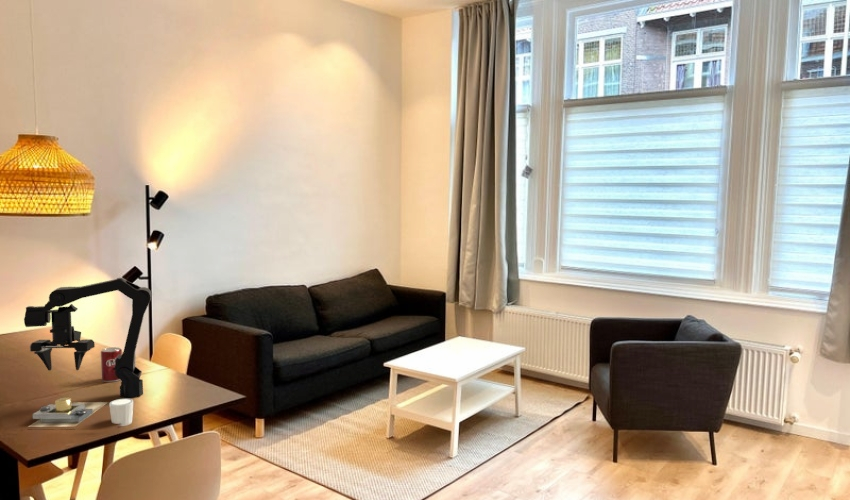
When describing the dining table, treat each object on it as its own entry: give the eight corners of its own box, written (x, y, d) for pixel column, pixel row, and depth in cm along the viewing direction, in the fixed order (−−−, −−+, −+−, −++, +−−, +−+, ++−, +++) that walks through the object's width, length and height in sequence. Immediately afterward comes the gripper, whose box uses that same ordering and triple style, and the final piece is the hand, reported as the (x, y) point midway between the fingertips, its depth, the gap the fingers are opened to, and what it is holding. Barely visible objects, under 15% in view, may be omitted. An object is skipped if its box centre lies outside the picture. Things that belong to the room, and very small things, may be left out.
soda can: (97, 380, 236) (96, 350, 235) (114, 375, 243) (113, 346, 242) (109, 383, 233) (108, 352, 232) (126, 378, 239) (125, 348, 238)
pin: (74, 415, 197) (73, 397, 196) (67, 420, 192) (66, 402, 192) (60, 415, 196) (59, 397, 196) (53, 420, 192) (52, 402, 191)
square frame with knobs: (93, 413, 199) (92, 402, 199) (78, 423, 190) (78, 412, 190) (49, 413, 198) (48, 402, 198) (32, 423, 190) (32, 412, 189)
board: (108, 405, 210) (108, 402, 210) (74, 429, 188) (74, 426, 188) (66, 405, 209) (66, 402, 209) (27, 429, 187) (27, 426, 187)
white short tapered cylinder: (137, 419, 197) (137, 398, 196) (128, 427, 190) (127, 405, 189) (116, 419, 196) (115, 398, 196) (105, 427, 190) (104, 405, 189)
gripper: (101, 320, 216) (103, 363, 217) (46, 320, 215) (48, 363, 216) (85, 326, 205) (87, 372, 206) (27, 327, 204) (30, 373, 205)
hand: (63, 370), depth 209 cm, fingers open, 9 cm apart
